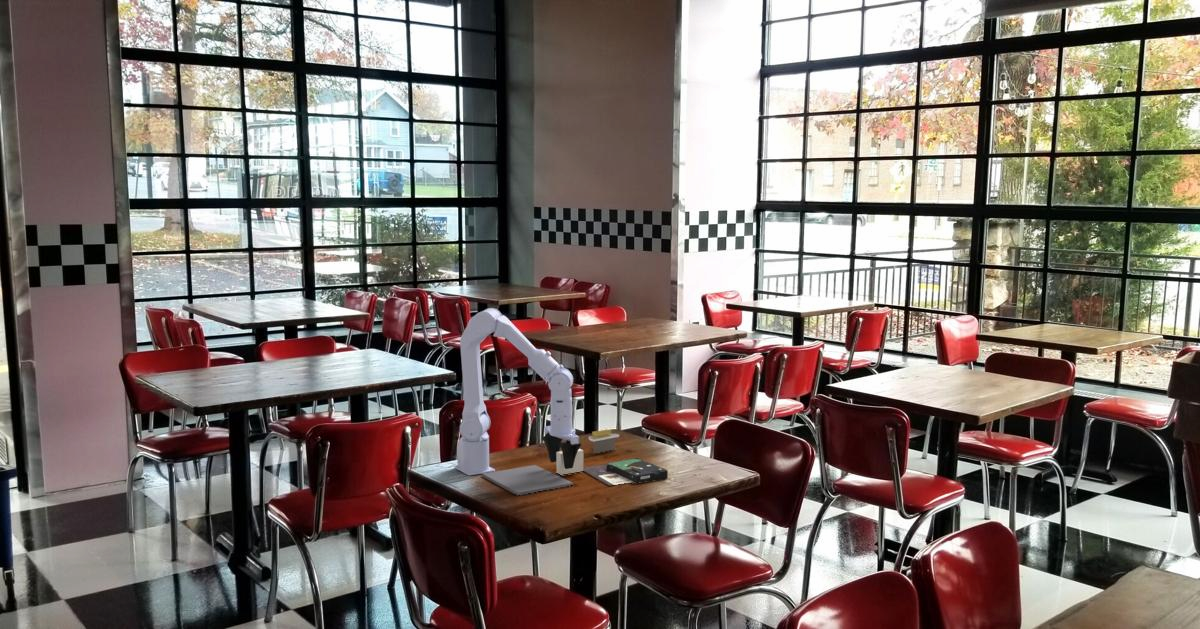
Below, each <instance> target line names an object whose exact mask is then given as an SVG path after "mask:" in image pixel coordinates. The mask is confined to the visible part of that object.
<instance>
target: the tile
mask: <svg viewBox="0 0 1200 629" xmlns="http://www.w3.org/2000/svg"><path fill="white" fill-rule="evenodd" d="M555 463H556V467H555V468H556V471H555V474H556V473H558V474H560V475H562V476H564V475H563V474H568V473H574V472H580V471H583V467H584V450H583V449H581V448H579V450H578V452H577V454H576V457H575V461H574V465H573V468H570V469H565V467H564V459H563V453H562V450H560V451H559V452H556V462H555ZM580 473H581V472H580ZM558 474H557V475H558ZM574 474H575V473H574ZM560 475H559V476H560ZM568 475H569V474H568Z"/></svg>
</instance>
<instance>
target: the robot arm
mask: <svg viewBox="0 0 1200 629" xmlns="http://www.w3.org/2000/svg"><path fill="white" fill-rule="evenodd" d="M492 333H493V335H492V336H493V337H495V338H496V337H497V338H503V339H506V340H507V341H508V342H510V343H511V344H512V345H513V346H514V347H515V348H516V349H517V350H519V351H520V352H521V353H522V354H523V355H524V356H525V357H527V360H528V363H527V365H528V366H529V367H530V368H531V369H532V370H534V372H535V373H536V374H537V375H538V376H540V378H542V379H543V381H545V382H547V383H548V388H549V390H550V425H547V426H546V425H545V426H544V434H545V435H543V436H541V438H542V441H543V443H544V445H545V447H546V449H547V455H548V458H549V462H550V463H556V452H559V451H562V453H563V459H564V467H565V469H570V468H573V465H574V461H575V457H576V454H577V452H578V450H579V449H581V446H582V443H581V441H579V439H580V436H579V435H577V434H576V432H577V431H576V429H574V428H573V397H572V392H573V391H572V388H571V387H572V386H573V384H574V376H573V374H572V373H571V371H570V370H569V369H567V368H565V367H564V365H563V364H559V362H557V361H556V360H555V359H554V358H553V357H552V356H551V355H552V353H551V352H550V351H549V350H547V351H546V350H545V349H542V348H540V349H539V348H536V347H535V346H534V345H533V344H532V343H531V341H530V340H529V339H528V338H526V336H525V335H524V334H523V332H521V331H520V330H519V329H518V328H517V327H516V326H515V325H514V323H512V322H511V321H510V319H509V318H508V317H507V316H506V315H503V314H502V313H501V311H500V310H498V309H496V308H495V307H494V308H493V307H489V308H485V309H484V310H482V311H480V312H477V313H476V314H475V315H473V316H472V317H471V318H470V319H469V321H468V324H467V325H466V327H465V329H464V330H463V332H462V335H461V337H460V341H459V345H460V357H461V358H460V359H461V371H462V372H461V373H462V386H463V400H464V406H463V410H462V413H461V415H462V419H461V422H460V424H459V425H460V426H459V432H460V435H461V437H460V438H459V439H458V442H457V445H456V446H457V447H456V454H457V455H456V457H457V459H456V460H457V465H454V469H456V470H458V471H459V472H461V473H463V474H465V475H467V476H475V475H481V474H483V473H489V472H495V471H496V469H495V468H493V467H491V466H490V435H489V434H488V432H487V431H488V430H489V429H490V427H491V418H490V416H489V414H488V412H487V406H486V404H485V402H484V389H483V388H484V387H483V376H482V364H481V363H482V362H481V361H482V360H481V349H480V348H481V346H480V344H481V343H483V341H484V340H485V339H486V338H487V337H488V336H489V335H491V334H492ZM562 440H563V441H565V442H562Z"/></svg>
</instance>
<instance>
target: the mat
mask: <svg viewBox="0 0 1200 629" xmlns="http://www.w3.org/2000/svg"><path fill="white" fill-rule="evenodd" d="M482 478H484V479H486V480H488V481H489V482H491V483H493V484H495V485H497V486H498V487H500V488H503V489H504V490H506V491H508V492H510V493H512V494H514V495H515V494H516V496H517V497H519V496H518V495H520V496H525V495H529V494H528V493H531V494H534V492H536V493H539V492H538V491H542V492H544V491H543V490H547V491H550V490H549V489H553V490H556V489H555V488H558V489H561V488H560V487H564V488H567V487H566V486H569V487H572V486H571V485H573V486H574V482H572V481H570V480H568V479H566V478H563V477H562V476H560V475H558V474H556V473H553V472H551V471H549V470H547V469H544V468H542V467H540V466H538V465H536V464H533V465H526V466H521V467H520V466H519V467H514V468H510V469H509V468H508V469H503V470H502V469H501V470H495V471H494V472H488V473H482ZM524 494H525V495H524Z"/></svg>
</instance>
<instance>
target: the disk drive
mask: <svg viewBox="0 0 1200 629" xmlns="http://www.w3.org/2000/svg"><path fill="white" fill-rule="evenodd" d="M607 464H608V465H606V468H607V470H609V471H611V472H613V473H616V474H618V475H620V476H622V477H624V478H627V479H629V480H631V481H633V482H635V483H639V482H645V481H651V482H654V481H653V480H656V481H661V480H666V479H668V478H669V477H668V476H669V475H668V474H669V473H668V470H667V469H666V468H663V467H661V466H658V465H656V464H653V463H651V462H648V461H645V460H643V459H640V458H638V457H635V458H628V459H621V460H619V461H614V462H613V461H612V462H607ZM635 483H634V484H635ZM645 483H646V482H645ZM639 484H640V483H639Z"/></svg>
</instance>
